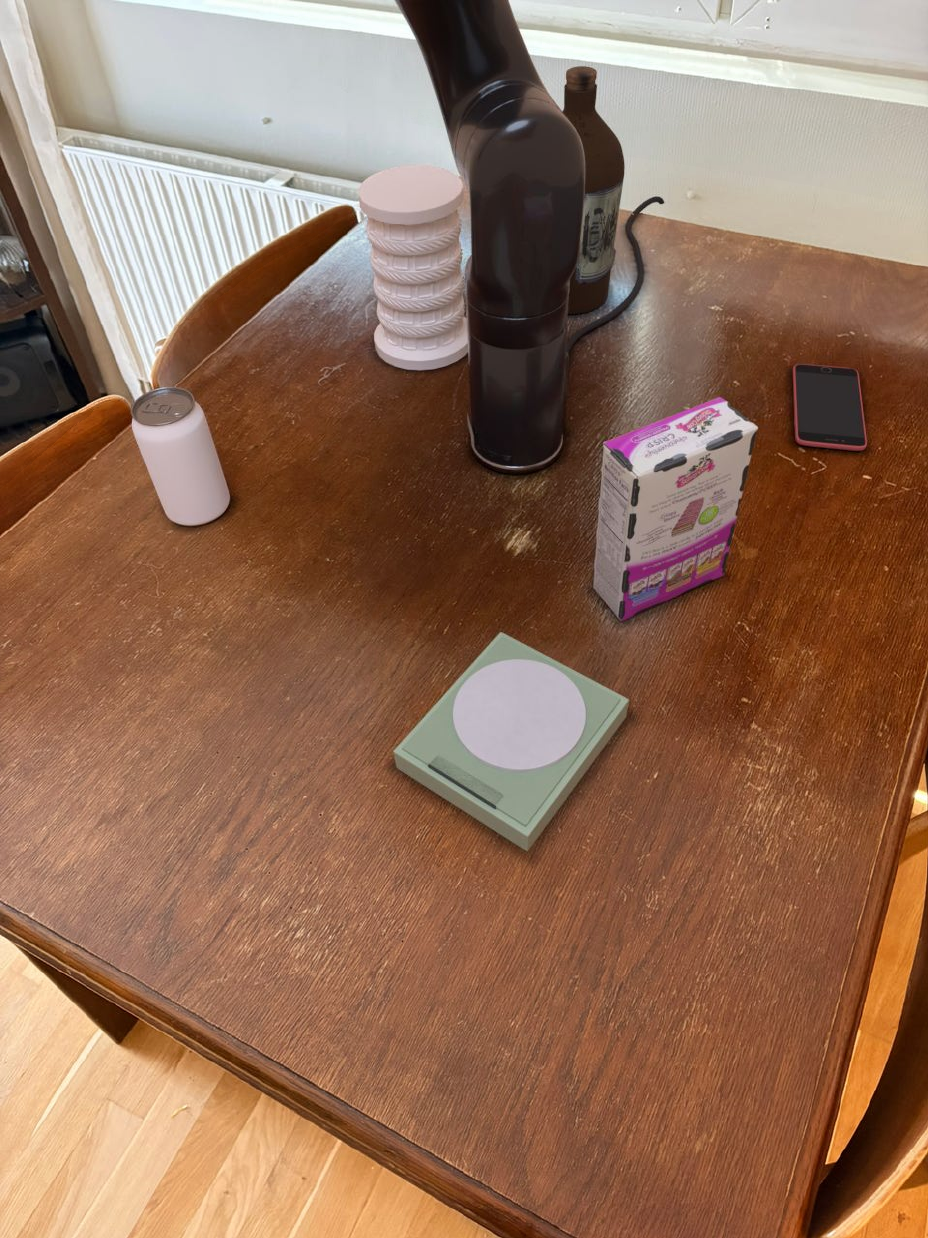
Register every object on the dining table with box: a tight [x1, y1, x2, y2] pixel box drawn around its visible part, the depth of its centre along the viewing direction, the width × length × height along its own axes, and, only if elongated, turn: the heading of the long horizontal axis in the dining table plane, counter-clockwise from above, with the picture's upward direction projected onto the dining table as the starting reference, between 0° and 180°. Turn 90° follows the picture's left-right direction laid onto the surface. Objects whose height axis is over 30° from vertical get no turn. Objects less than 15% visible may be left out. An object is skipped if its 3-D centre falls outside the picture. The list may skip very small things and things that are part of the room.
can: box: [130, 386, 231, 527], centre depth 84 cm, size 6×6×12 cm
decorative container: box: [357, 164, 468, 371], centre depth 99 cm, size 12×12×18 cm
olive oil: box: [562, 65, 626, 315], centre depth 102 cm, size 11×11×25 cm
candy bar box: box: [592, 396, 759, 622], centre depth 73 cm, size 11×5×16 cm, turn 117°
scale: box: [392, 631, 630, 852], centre depth 68 cm, size 14×12×3 cm
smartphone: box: [792, 363, 868, 452], centre depth 94 cm, size 7×1×14 cm
